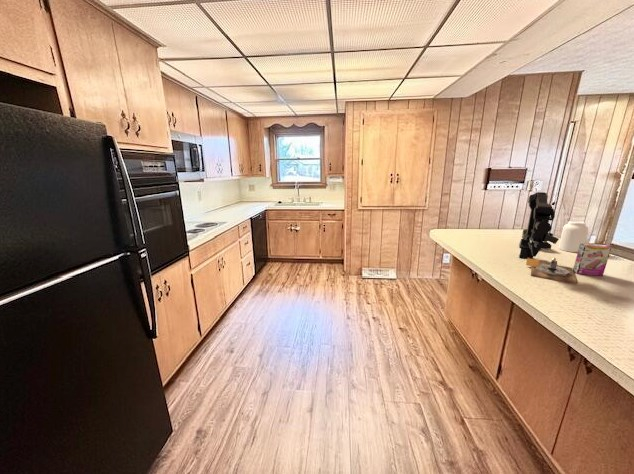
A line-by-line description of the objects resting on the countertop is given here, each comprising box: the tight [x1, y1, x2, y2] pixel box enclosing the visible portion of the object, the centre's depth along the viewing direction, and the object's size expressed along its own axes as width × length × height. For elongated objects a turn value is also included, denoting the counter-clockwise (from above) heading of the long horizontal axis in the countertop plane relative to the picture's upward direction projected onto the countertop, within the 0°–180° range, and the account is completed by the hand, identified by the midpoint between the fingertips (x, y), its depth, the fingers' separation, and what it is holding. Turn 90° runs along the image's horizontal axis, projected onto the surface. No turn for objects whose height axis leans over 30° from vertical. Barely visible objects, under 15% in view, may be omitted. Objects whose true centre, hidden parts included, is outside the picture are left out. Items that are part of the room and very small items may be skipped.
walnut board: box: [530, 262, 578, 285], centre depth 147 cm, size 18×24×1 cm
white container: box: [558, 220, 589, 253], centre depth 182 cm, size 12×12×20 cm
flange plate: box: [525, 257, 570, 276], centre depth 148 cm, size 18×13×4 cm
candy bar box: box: [572, 243, 612, 277], centre depth 143 cm, size 11×5×16 cm, turn 71°
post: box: [550, 259, 558, 271], centre depth 146 cm, size 2×2×7 cm
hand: (534, 256), depth 148 cm, fingers closed
